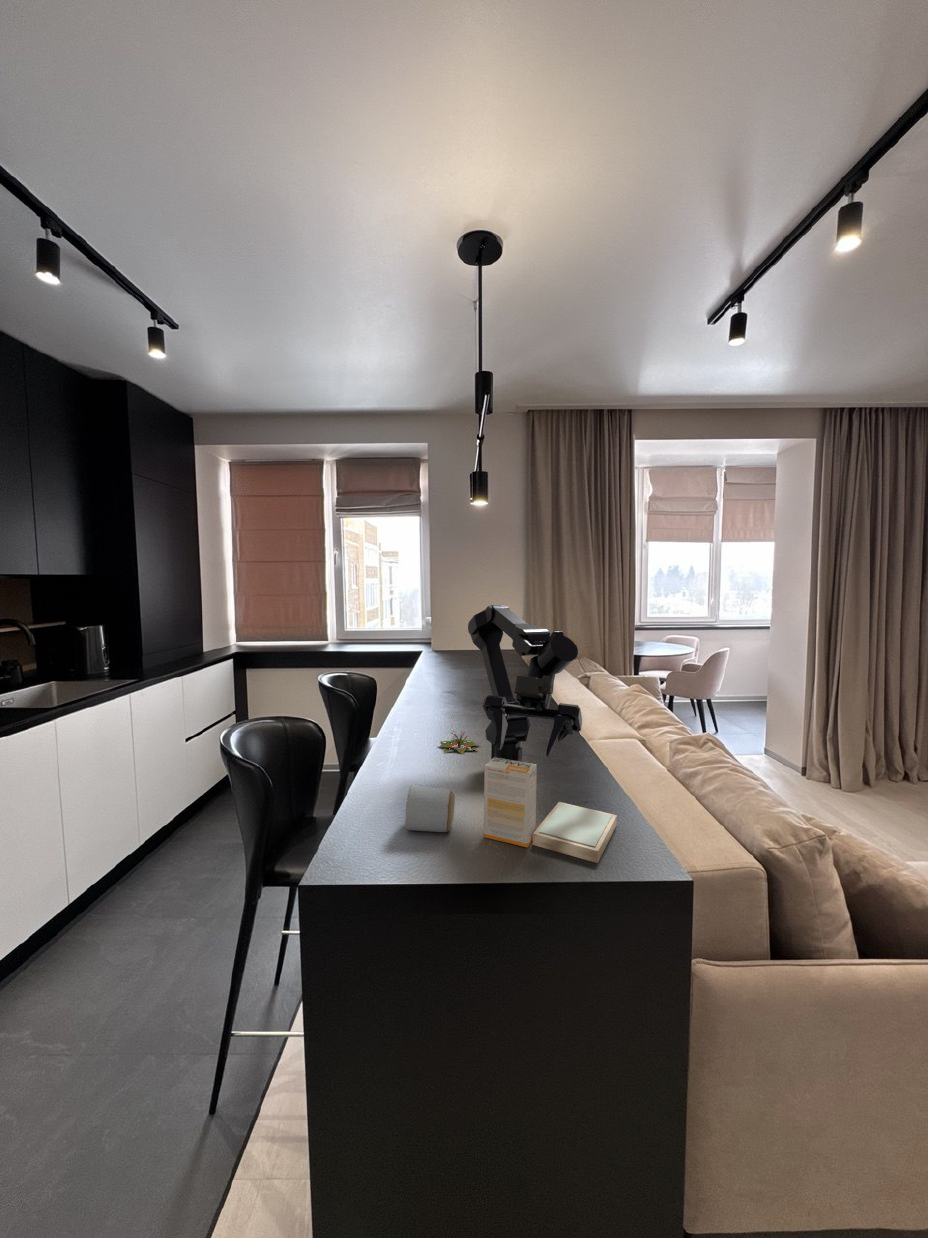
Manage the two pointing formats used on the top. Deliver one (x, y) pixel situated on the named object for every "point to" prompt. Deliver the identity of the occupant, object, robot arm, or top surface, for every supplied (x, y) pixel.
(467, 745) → the lily flower
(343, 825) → the top surface
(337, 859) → the top surface
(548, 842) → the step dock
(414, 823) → the ceramic mug
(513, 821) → the supplement box
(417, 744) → the top surface
